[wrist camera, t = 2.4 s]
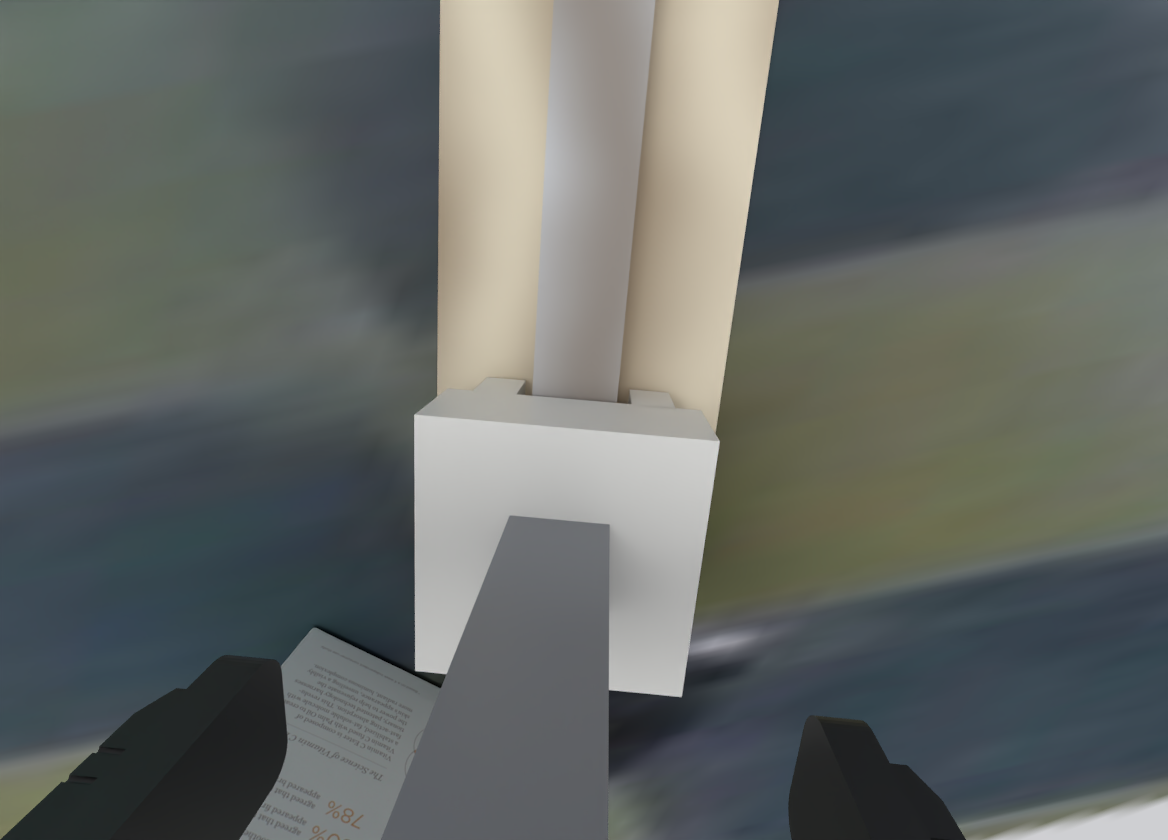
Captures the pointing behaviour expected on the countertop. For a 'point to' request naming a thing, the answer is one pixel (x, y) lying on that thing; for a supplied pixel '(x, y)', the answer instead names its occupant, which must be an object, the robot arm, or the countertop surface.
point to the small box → (342, 743)
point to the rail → (668, 201)
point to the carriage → (545, 598)
